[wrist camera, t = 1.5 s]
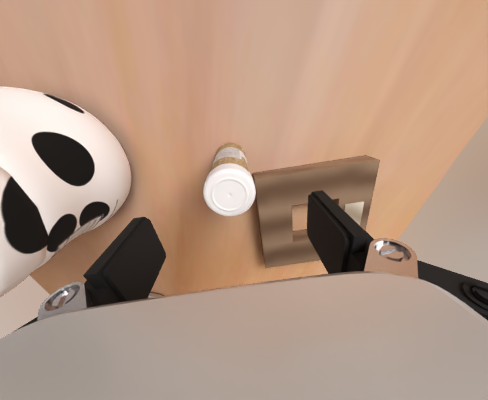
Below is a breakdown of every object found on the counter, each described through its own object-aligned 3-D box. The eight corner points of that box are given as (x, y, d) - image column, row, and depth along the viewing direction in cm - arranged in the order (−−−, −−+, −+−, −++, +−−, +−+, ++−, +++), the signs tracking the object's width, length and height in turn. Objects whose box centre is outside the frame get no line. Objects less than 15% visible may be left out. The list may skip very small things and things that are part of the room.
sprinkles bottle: (244, 172, 28) (253, 219, 16) (215, 171, 28) (203, 217, 16) (246, 142, 26) (259, 170, 14) (215, 140, 26) (201, 167, 14)
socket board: (351, 243, 36) (361, 254, 34) (263, 256, 37) (265, 268, 34) (365, 155, 28) (380, 160, 25) (252, 173, 28) (255, 180, 26)
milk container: (-14, 69, 21) (-825, -59, 5) (143, 115, 24) (-36, 130, 8) (21, 198, 28) (-256, 317, 12) (138, 221, 31) (40, 339, 15)
